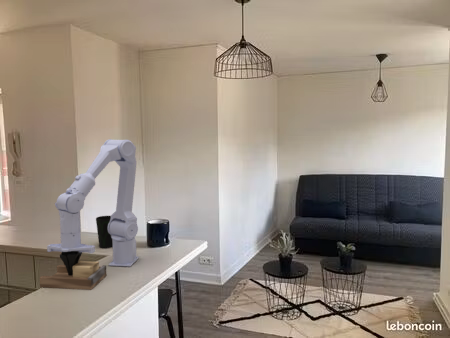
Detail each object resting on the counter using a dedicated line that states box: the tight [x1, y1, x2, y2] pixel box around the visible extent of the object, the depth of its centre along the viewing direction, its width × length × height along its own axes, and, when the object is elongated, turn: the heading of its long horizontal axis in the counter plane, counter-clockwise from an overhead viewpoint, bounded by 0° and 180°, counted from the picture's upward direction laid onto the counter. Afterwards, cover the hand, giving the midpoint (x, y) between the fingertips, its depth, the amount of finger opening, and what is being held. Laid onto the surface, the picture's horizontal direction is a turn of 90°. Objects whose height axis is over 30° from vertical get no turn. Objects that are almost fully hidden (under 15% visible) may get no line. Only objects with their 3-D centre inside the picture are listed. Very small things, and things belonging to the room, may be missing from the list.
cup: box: [95, 215, 113, 249], centre depth 152 cm, size 8×8×12 cm
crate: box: [73, 260, 100, 278], centre depth 116 cm, size 5×6×5 cm
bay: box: [39, 264, 107, 291], centre depth 116 cm, size 11×16×4 cm
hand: (72, 274), depth 116 cm, fingers closed
